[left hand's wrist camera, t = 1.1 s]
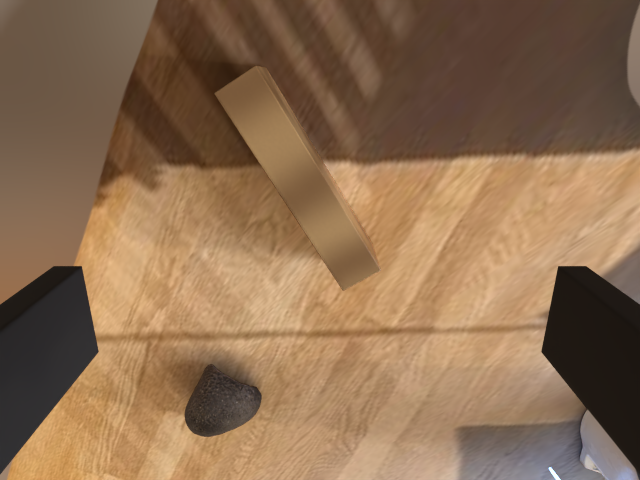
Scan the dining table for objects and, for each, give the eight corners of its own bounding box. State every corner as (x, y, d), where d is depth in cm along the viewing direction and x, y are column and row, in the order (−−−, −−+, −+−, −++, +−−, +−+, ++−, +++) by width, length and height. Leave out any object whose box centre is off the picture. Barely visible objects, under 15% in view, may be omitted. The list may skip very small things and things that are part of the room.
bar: (230, 90, 49) (213, 93, 42) (265, 67, 48) (255, 65, 41) (339, 262, 56) (343, 291, 48) (372, 243, 55) (381, 270, 48)
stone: (255, 349, 65) (197, 355, 57) (281, 403, 60) (222, 417, 53) (218, 386, 68) (160, 396, 61) (240, 439, 64) (180, 457, 57)
